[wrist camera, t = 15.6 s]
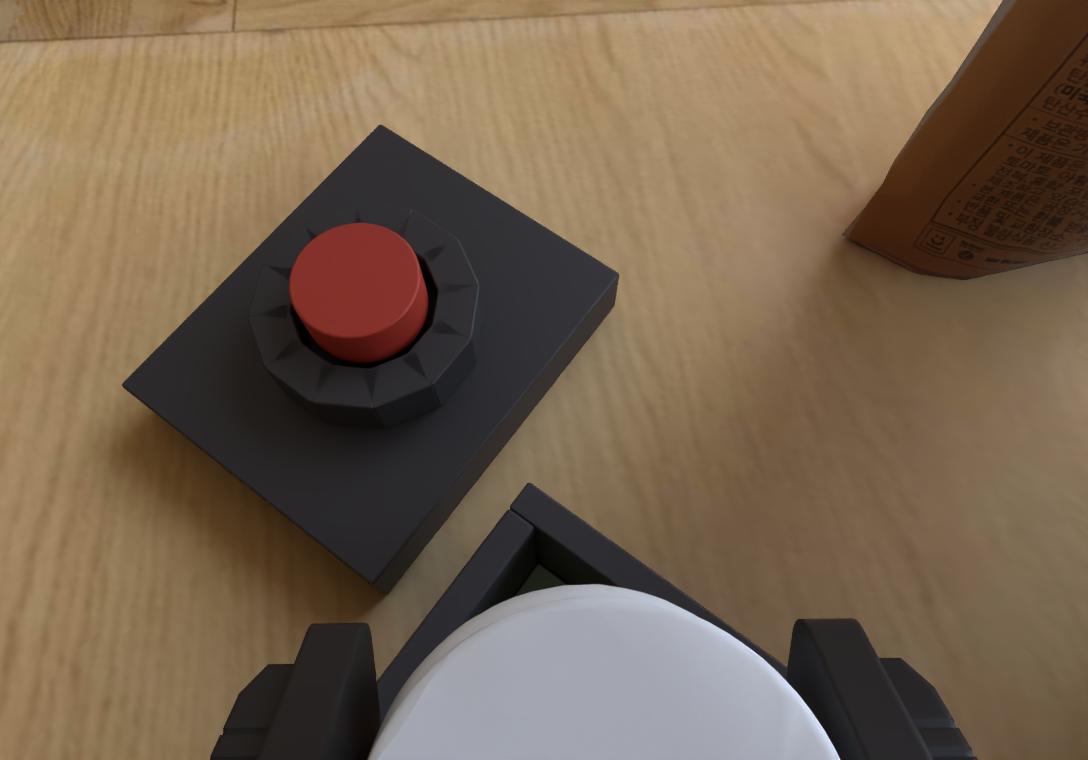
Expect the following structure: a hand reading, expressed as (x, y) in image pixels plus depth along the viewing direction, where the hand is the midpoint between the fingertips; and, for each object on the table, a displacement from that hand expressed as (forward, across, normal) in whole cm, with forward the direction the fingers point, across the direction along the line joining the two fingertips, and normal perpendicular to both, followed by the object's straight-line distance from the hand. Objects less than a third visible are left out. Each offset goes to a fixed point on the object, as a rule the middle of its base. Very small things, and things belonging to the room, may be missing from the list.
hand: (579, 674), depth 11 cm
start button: (+14, +6, -1) cm, 15 cm away
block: (+17, +6, +2) cm, 18 cm away
